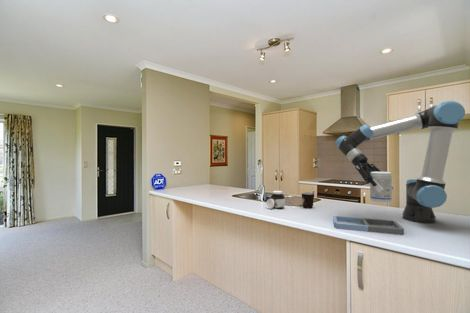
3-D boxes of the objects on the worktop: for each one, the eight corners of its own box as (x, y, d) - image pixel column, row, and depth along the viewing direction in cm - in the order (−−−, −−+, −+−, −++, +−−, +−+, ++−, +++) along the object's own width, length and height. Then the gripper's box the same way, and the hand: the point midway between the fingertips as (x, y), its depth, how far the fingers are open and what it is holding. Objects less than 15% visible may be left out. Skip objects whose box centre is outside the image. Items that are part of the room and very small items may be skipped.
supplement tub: (372, 198, 129) (372, 171, 129) (393, 200, 123) (393, 171, 123) (367, 201, 122) (367, 172, 122) (389, 203, 116) (389, 173, 115)
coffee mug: (314, 209, 164) (315, 194, 164) (301, 208, 166) (301, 194, 165) (312, 205, 175) (312, 191, 175) (300, 205, 177) (300, 191, 177)
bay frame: (395, 225, 127) (395, 220, 127) (404, 234, 112) (404, 229, 112) (333, 219, 138) (333, 215, 138) (334, 228, 123) (334, 223, 123)
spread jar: (286, 207, 169) (286, 191, 169) (280, 211, 159) (280, 193, 159) (270, 205, 175) (270, 189, 175) (264, 208, 166) (264, 192, 165)
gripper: (364, 162, 141) (393, 192, 127) (340, 163, 130) (369, 196, 116) (373, 153, 136) (404, 183, 123) (348, 153, 125) (380, 187, 112)
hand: (387, 190), depth 120 cm, fingers closed on supplement tub, 9 cm apart
